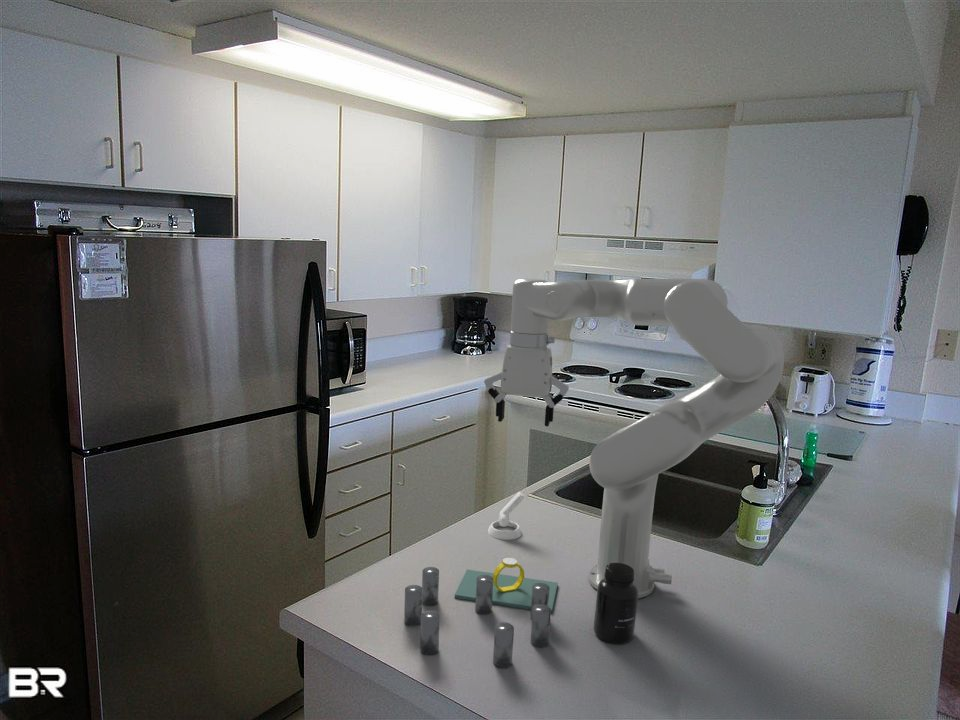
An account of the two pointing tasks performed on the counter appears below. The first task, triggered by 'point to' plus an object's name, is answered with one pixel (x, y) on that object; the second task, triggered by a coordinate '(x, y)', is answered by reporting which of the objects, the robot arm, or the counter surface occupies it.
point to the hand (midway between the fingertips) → (523, 422)
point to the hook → (507, 521)
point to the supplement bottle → (616, 604)
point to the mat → (510, 598)
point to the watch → (510, 564)
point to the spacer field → (482, 606)
